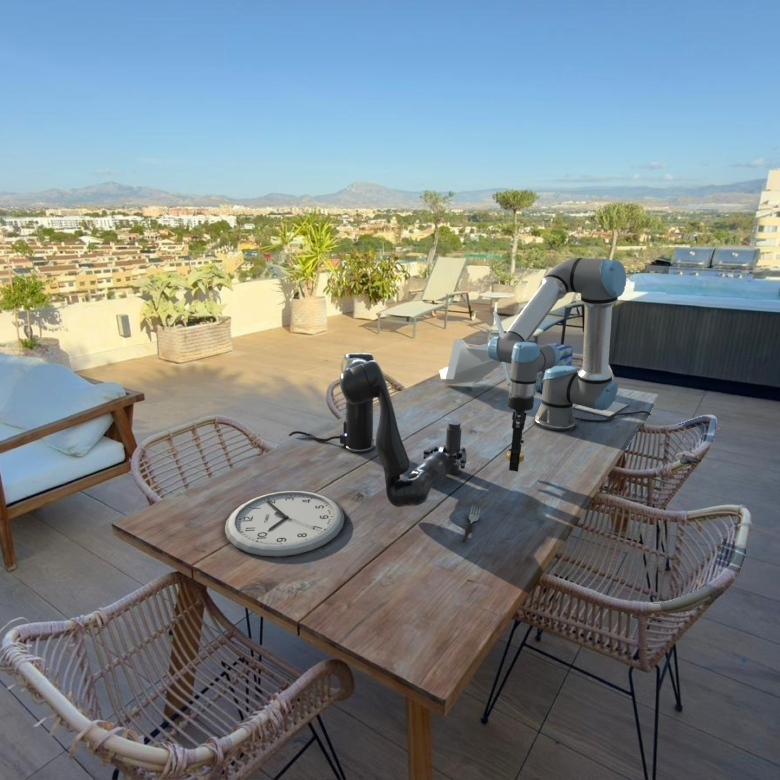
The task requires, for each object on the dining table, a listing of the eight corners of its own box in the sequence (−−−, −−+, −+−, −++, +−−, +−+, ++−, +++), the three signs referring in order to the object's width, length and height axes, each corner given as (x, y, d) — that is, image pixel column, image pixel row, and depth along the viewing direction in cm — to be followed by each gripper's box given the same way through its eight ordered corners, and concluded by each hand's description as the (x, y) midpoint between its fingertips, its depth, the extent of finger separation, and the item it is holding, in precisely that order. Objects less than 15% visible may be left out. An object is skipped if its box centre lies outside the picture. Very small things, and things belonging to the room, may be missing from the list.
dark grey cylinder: (452, 475, 161) (454, 426, 157) (441, 470, 165) (444, 422, 160) (461, 471, 164) (464, 423, 159) (451, 466, 167) (454, 419, 163)
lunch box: (544, 395, 239) (549, 351, 233) (524, 390, 247) (528, 347, 240) (571, 384, 257) (577, 343, 251) (552, 380, 264) (556, 339, 258)
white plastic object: (461, 429, 252) (437, 405, 227) (444, 352, 274) (420, 323, 250) (535, 404, 240) (518, 377, 215) (510, 326, 262) (492, 293, 237)
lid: (525, 458, 162) (526, 452, 161) (520, 464, 157) (521, 458, 157) (509, 454, 164) (510, 448, 163) (504, 460, 160) (504, 454, 159)
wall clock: (344, 547, 121) (211, 552, 118) (344, 554, 121) (212, 558, 119) (344, 486, 149) (237, 489, 147) (344, 491, 150) (237, 494, 147)
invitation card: (608, 416, 214) (573, 407, 224) (608, 416, 214) (573, 408, 224) (628, 404, 229) (594, 396, 238) (628, 405, 229) (594, 397, 238)
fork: (457, 543, 126) (458, 536, 126) (471, 511, 141) (471, 504, 140) (468, 545, 125) (468, 538, 125) (480, 513, 140) (481, 506, 139)
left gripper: (457, 462, 146) (478, 442, 160) (411, 451, 153) (435, 432, 167) (455, 486, 148) (476, 464, 163) (410, 474, 155) (434, 454, 169)
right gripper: (511, 385, 164) (504, 453, 171) (505, 402, 147) (498, 477, 154) (535, 388, 162) (528, 457, 169) (533, 405, 145) (525, 481, 152)
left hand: (455, 448), depth 165 cm, fingers closed on dark grey cylinder, 4 cm apart
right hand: (514, 466), depth 161 cm, fingers closed on lid, 5 cm apart
